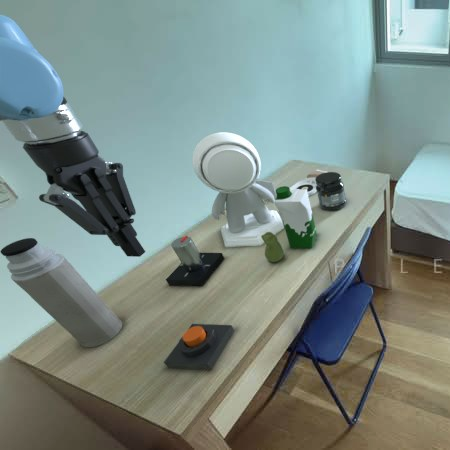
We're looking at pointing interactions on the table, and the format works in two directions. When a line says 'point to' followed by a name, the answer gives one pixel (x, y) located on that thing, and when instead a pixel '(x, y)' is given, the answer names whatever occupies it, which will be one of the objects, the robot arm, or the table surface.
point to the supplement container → (330, 191)
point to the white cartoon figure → (236, 188)
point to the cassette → (267, 186)
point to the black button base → (201, 349)
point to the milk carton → (296, 216)
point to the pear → (272, 247)
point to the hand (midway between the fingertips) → (136, 253)
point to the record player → (308, 182)
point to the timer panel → (196, 271)
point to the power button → (194, 336)
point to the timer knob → (187, 253)
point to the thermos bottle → (61, 292)
